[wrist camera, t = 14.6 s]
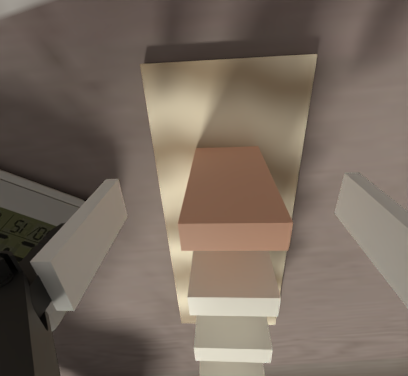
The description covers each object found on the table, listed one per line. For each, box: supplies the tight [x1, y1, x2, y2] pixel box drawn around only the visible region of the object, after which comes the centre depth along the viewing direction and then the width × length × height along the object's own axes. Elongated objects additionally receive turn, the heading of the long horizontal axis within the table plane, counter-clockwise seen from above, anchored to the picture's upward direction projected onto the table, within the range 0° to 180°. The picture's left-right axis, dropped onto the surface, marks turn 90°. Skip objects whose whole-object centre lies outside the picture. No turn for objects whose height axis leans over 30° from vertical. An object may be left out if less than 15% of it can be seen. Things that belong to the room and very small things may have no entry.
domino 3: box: [194, 315, 273, 363], centre depth 20 cm, size 2×5×10 cm, turn 93°
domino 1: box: [178, 146, 293, 251], centre depth 15 cm, size 2×5×10 cm, turn 93°
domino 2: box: [187, 251, 281, 317], centre depth 17 cm, size 2×5×10 cm, turn 93°
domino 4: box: [199, 361, 265, 376], centre depth 22 cm, size 2×5×10 cm, turn 93°
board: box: [140, 54, 317, 325], centre depth 24 cm, size 30×12×1 cm, turn 3°
